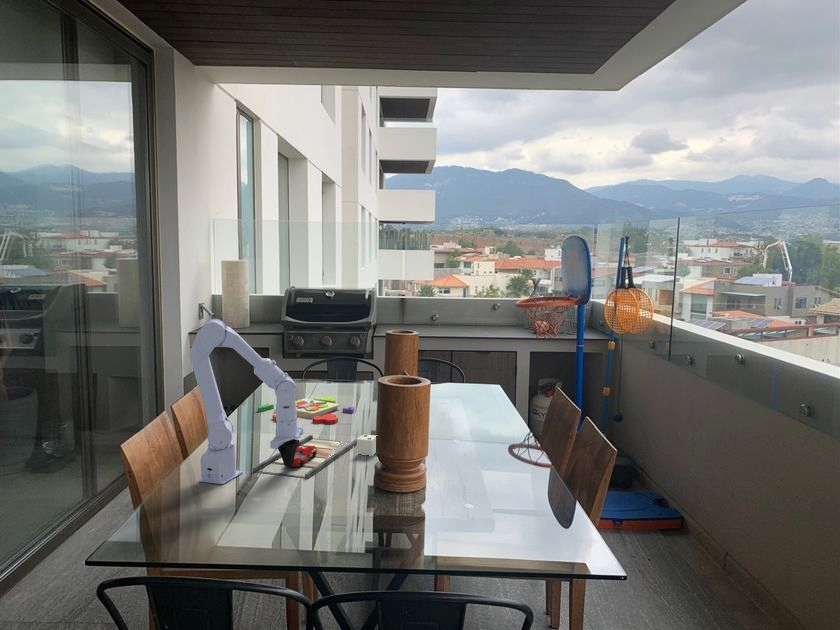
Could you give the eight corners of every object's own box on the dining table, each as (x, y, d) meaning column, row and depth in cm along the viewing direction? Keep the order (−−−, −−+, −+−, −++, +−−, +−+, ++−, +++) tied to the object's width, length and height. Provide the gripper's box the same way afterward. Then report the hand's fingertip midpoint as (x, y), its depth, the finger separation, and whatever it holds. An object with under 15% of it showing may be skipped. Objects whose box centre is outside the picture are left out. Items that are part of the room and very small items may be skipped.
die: (372, 456, 190) (371, 440, 189) (357, 454, 192) (356, 438, 191) (378, 451, 195) (378, 435, 194) (363, 449, 196) (363, 433, 196)
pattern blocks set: (240, 420, 235) (240, 412, 235) (286, 399, 267) (286, 392, 267) (332, 427, 224) (332, 419, 223) (368, 404, 255) (368, 397, 255)
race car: (297, 469, 179) (297, 456, 179) (281, 467, 181) (280, 454, 181) (320, 454, 192) (319, 442, 191) (304, 453, 194) (304, 440, 193)
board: (308, 478, 173) (308, 474, 172) (252, 471, 179) (252, 467, 178) (359, 443, 203) (358, 439, 203) (310, 438, 209) (310, 434, 209)
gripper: (285, 427, 170) (287, 475, 172) (311, 414, 184) (313, 458, 185) (262, 425, 172) (265, 473, 174) (290, 412, 186) (292, 456, 187)
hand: (288, 465), depth 180 cm, fingers closed
